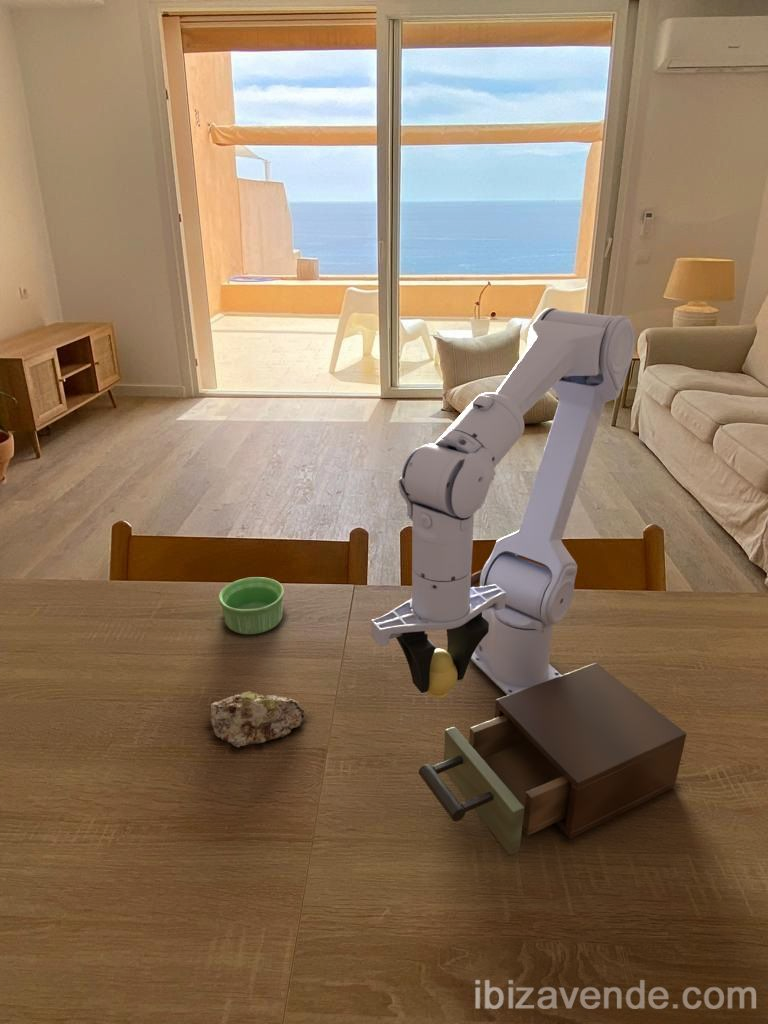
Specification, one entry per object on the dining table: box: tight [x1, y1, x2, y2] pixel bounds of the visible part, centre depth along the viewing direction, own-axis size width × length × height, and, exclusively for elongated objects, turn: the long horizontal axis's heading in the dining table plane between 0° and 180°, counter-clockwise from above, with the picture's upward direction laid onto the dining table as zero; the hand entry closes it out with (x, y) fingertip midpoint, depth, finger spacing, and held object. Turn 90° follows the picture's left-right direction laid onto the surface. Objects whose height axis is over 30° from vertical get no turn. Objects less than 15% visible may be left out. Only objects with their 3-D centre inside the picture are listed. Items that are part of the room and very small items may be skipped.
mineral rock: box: [210, 690, 306, 748], centre depth 79 cm, size 11×4×8 cm
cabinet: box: [494, 662, 687, 839], centre depth 71 cm, size 14×13×7 cm
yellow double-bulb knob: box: [426, 648, 458, 699], centre depth 72 cm, size 4×4×5 cm
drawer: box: [418, 715, 572, 856], centre depth 67 cm, size 17×11×5 cm
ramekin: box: [218, 576, 285, 635], centre depth 98 cm, size 9×9×4 cm
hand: (438, 680), depth 73 cm, fingers closed on yellow double-bulb knob, 4 cm apart
